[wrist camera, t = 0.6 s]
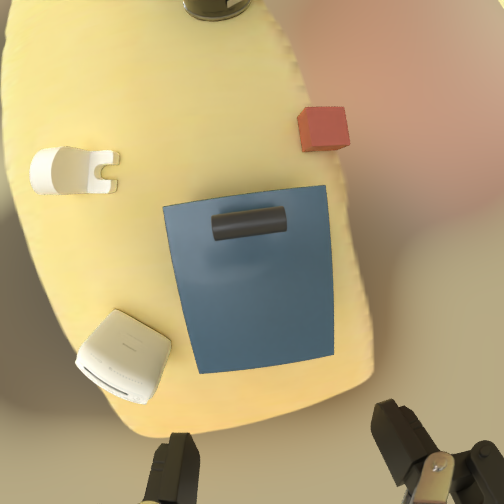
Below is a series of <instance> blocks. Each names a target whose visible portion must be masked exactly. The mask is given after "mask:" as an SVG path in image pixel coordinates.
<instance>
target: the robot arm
mask: <svg viewBox="0 0 504 504" xmlns="http://www.w3.org/2000/svg"><path fill="white" fill-rule="evenodd" d="M250 1H251V0H183V4H184V7H185V10H186V11H187V12H188V13H189V14H190V15H191V16H193V17H195V18H198V19H201V20H207V21H218V20H225V19H229V18H232V17H234V16H237V15H238V14H240V13H242V12H243V11H244V10H245V9H246V8H247V7H248V6H249V4H250ZM371 432H372V435H373V437H374V439H375V442H376V444H377V446H378V448H379V450H380V452H381V454H382V456H383V458H384V460H385V462H386V464H387V466H388V468H389V470H390V473H391V475H392V477H393V479H394V481H395V483H396V485H397V487H398V486H401V485H403V484H405V485H406V487H407V490H406V492H405V495H404V497H403V500H402V503H401V504H447V498H448V494H449V493H450V494H451V496H452V498H453V500H454V502H455V504H504V458H503V456H502V455H501V453H500V452H499V450H498V449H497V447H496V446H495V444H494V443H492V442H491V441H487V440H483V441H480V442H478V443H476V444H475V445H474V447H473V448H472V449H471V450H469V451H465V452H461V453H457V454H449V453H447V452H443V451H440V450H439V449H438V448H437V446H436V445H435V443H434V442H433V440H432V439H431V437H430V436H429V434H428V433H427V431H426V430H425V428H424V427H423V426H422V424H421V422H420V421H419V420H418V418H417V416H416V415H415V414H414V412H413V411H412V410H410V409H409V408H407V407H406V406H401V407H398V405H397V404H396V403H395V401H394V400H393V399H389V400H386V401H383V402H380V403H377V404H376V405H375V407H374V412H373V417H372V421H371ZM199 469H200V455H199V451H198V449H197V447H196V445H195V443H194V441H193V439H192V437H191V435H190V433H172V434H171V436H170V440H169V444H163V443H162V444H161V445H160V446H159V448H158V449H157V450H156V451H155V454H154V458H153V463H152V466H151V471H150V475H149V479H148V483H147V488H146V492H145V496H144V499H143V501H142V502H140V503H139V504H196V502H197V490H198V479H199Z"/></svg>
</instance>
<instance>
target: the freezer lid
mask: <svg viewBox="0 0 504 504" xmlns="http://www.w3.org/2000/svg"><path fill="white" fill-rule="evenodd" d="M163 212H164V219H165V225H166V231H167V236H168V242H169V247H170V253H171V258H172V263H173V268H174V273H175V278H176V282H177V287H178V292H179V296H180V301H181V305H182V309H183V313H184V318H185V322H186V326H187V330H188V334H189V338H190V341H191V345H192V349H193V353H194V356H195V360H196V363H197V367H198V370H199V373H200V374H204V373H217V372H227V371H237V370H246V369H254V368H261V367H269V366H275V365H282V364H288V363H294V362H300V361H305V360H310V359H316V358H321V357H325V356H330V355H334V294H333V269H332V251H331V237H330V224H329V213H328V202H327V193H326V185H320V186H309V187H299V188H290V189H280V190H272V191H263V192H255V193H248V194H240V195H233V196H226V197H219V198H212V199H206V200H199V201H193V202H187V203H181V204H175V205H170V206H164V207H163Z"/></svg>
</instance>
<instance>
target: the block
mask: <svg viewBox="0 0 504 504" xmlns="http://www.w3.org/2000/svg"><path fill="white" fill-rule="evenodd" d="M297 119H298V125H299V132H300V138H301V145H302V152H310V151H327V150H338V149H341V148H343V147H346V146H349V145H350V139H349V133H348V126H347V121H346V115H345V110H344V107H305V109H304V110H303V111H302V112H301V113H300V115H299V116H298V117H297Z"/></svg>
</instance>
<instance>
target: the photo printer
mask: <svg viewBox="0 0 504 504" xmlns="http://www.w3.org/2000/svg"><path fill="white" fill-rule="evenodd" d="M170 351H171V341H170V340H169V339H167V338H166V337H165V336H163V335H161V334H160V333H158V332H156V331H155V330H153V329H151V328H149V327H148V326H146V325H144V324H142V323H141V322H139V321H137V320H135V319H134V318H132V317H130V316H128V315H127V314H125V313H123V312H121V311H119V310H116V309H114V310H113V311H112V312H111V313H110V314H109V315H108V316H107V317H106V318H105V319H104V320H103V321H102V322H101V323H100V325H99V326H98V327H97V328H96V329H95V330H94V331H93V332H92V334H91V335H90V336H89V337H88V338H87V339H86V340H85V341H84V343H83V344H82V345H81V346H80V348H79V350H78V354H77V359H76V361H75V364H76V365H77V366H78V368H79V369H80V370H81V371H82V372H83V373H84V374H85V375H86V376H87V377H88V378H89V379H91V380H92V381H93V382H94V383H96V384H97V385H98V386H100V387H101V388H103V389H105V390H106V391H108V392H110V393H112V394H114V395H116V396H118V397H120V398H122V399H125V400H128V401H131V402H134V403H139V404H147V401H148V400H149V399H151V398H152V397H153V395H154V393H155V392H156V390H157V388H158V385H159V382H160V379H161V376H162V374H163V371H164V368H165V365H166V362H167V360H168V357H169V354H170Z"/></svg>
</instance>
